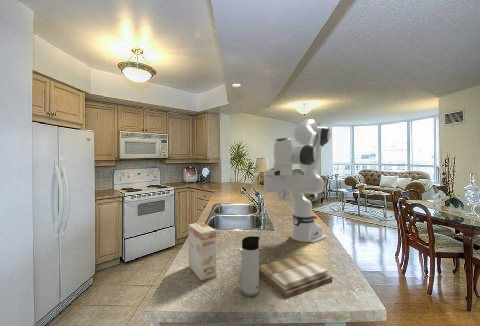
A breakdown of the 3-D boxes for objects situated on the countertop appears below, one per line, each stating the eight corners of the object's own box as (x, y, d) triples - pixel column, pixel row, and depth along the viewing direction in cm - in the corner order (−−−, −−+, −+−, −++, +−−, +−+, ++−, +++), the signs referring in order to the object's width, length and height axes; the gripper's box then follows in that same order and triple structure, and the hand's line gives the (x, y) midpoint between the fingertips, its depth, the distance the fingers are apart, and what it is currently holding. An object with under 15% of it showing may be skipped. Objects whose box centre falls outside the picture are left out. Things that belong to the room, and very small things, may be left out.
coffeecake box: (217, 276, 94) (216, 230, 94) (200, 281, 90) (200, 233, 90) (202, 262, 107) (202, 221, 106) (188, 266, 103) (187, 224, 102)
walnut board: (297, 260, 109) (297, 257, 109) (332, 280, 91) (332, 276, 91) (255, 272, 97) (255, 269, 97) (285, 297, 80) (285, 293, 80)
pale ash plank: (312, 267, 99) (312, 262, 99) (327, 275, 92) (327, 270, 92) (271, 279, 89) (271, 274, 89) (284, 290, 82) (284, 284, 82)
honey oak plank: (299, 259, 106) (299, 254, 106) (311, 266, 99) (312, 262, 99) (260, 270, 96) (260, 265, 96) (271, 279, 89) (271, 274, 89)
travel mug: (262, 295, 81) (262, 239, 81) (244, 298, 79) (244, 241, 79) (256, 285, 87) (256, 234, 87) (239, 288, 85) (239, 236, 85)
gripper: (295, 170, 116) (294, 197, 116) (261, 171, 106) (261, 200, 107) (303, 171, 110) (303, 199, 111) (269, 172, 101) (269, 203, 101)
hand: (282, 200), depth 109 cm, fingers closed
